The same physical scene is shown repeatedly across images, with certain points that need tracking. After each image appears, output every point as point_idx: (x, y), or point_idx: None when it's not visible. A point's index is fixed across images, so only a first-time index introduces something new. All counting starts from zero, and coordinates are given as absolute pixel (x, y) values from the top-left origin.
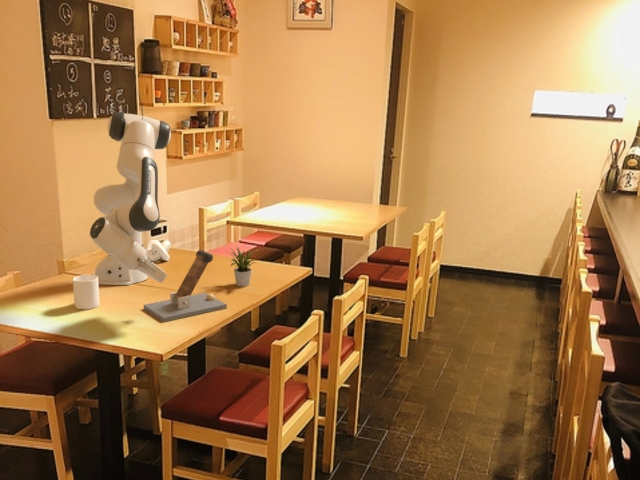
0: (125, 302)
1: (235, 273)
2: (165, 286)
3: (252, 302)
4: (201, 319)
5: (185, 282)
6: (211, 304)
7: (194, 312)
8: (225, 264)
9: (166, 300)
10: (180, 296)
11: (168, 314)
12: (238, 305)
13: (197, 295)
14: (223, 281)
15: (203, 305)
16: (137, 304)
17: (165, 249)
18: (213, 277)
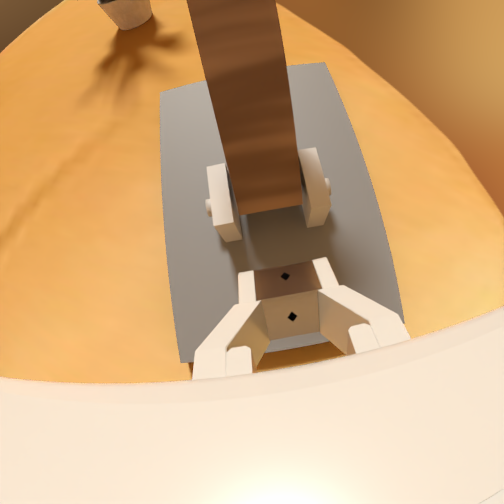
0: None
1: (119, 5)
2: (14, 205)
3: (294, 17)
4: (414, 176)
5: (251, 114)
6: (308, 98)
7: (367, 177)
8: (8, 62)
9: (168, 246)
10: (292, 189)
11: (372, 292)
12: (307, 44)
13: (173, 116)
14: (82, 55)
15: (309, 123)
16: (121, 363)
17: None
18: (43, 77)
